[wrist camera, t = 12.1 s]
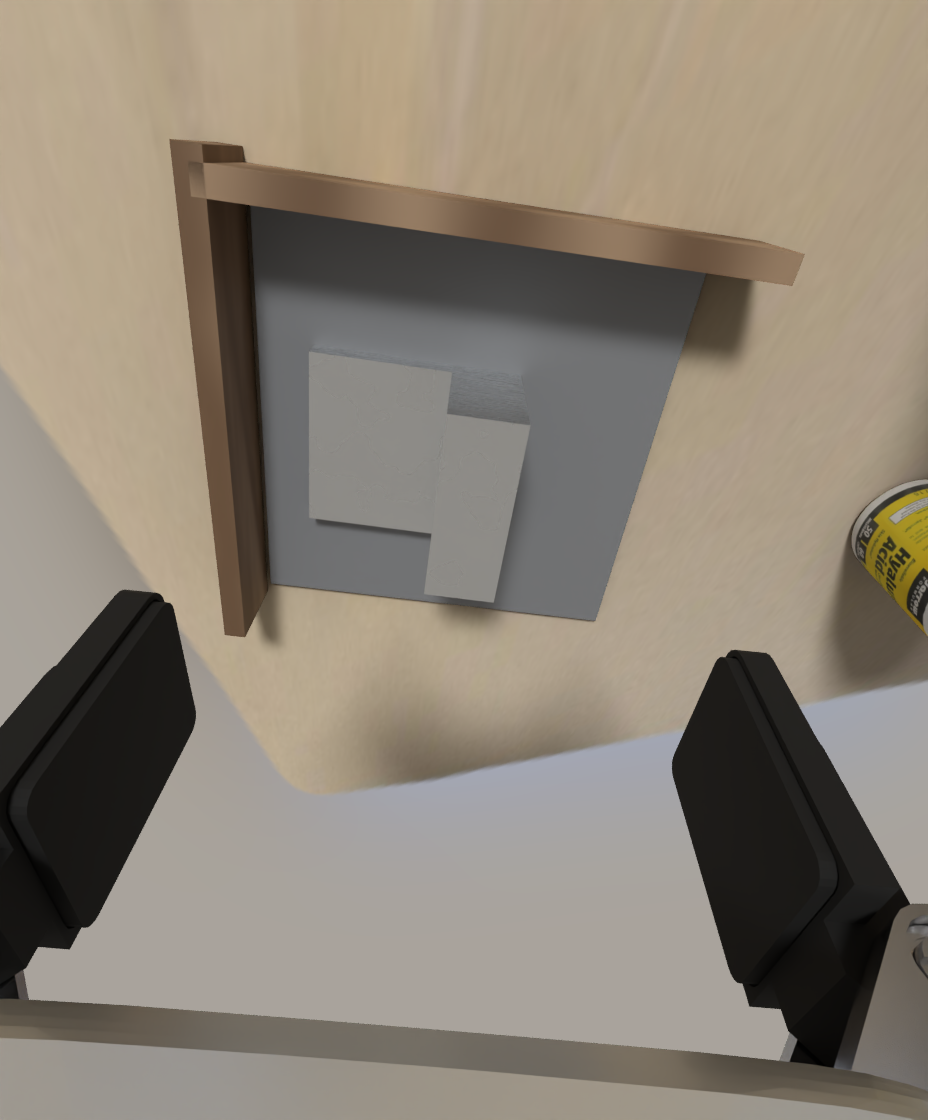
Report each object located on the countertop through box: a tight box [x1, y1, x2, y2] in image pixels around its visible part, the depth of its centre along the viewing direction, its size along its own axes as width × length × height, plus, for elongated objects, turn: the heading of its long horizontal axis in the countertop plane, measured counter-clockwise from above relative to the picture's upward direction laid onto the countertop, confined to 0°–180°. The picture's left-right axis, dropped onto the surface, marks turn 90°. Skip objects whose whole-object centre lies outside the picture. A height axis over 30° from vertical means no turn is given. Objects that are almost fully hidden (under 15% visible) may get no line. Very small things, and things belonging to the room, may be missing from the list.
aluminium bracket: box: [309, 345, 531, 603], centre depth 26 cm, size 8×9×6 cm
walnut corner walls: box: [170, 139, 805, 637], centre depth 27 cm, size 21×21×4 cm
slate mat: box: [250, 205, 706, 621], centre depth 29 cm, size 18×18×1 cm
